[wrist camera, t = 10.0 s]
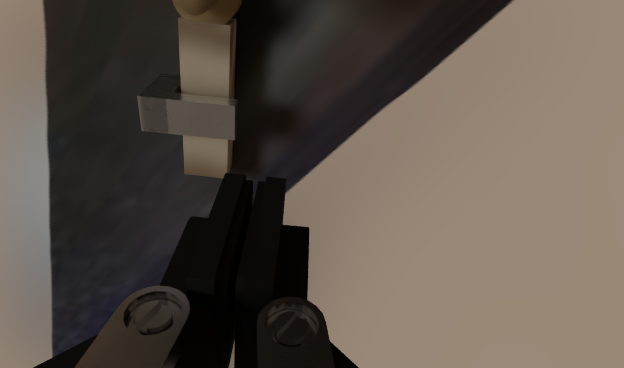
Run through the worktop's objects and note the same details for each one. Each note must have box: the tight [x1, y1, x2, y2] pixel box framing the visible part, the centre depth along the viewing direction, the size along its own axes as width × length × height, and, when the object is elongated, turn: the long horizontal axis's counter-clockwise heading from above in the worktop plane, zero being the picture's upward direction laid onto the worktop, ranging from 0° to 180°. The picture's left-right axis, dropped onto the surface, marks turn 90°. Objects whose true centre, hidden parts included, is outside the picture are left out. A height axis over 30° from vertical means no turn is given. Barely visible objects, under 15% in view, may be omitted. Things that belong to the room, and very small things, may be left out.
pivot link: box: [172, 0, 242, 178], centre depth 34 cm, size 18×5×6 cm, turn 173°
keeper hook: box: [137, 74, 238, 140], centre depth 36 cm, size 3×8×6 cm, turn 84°
